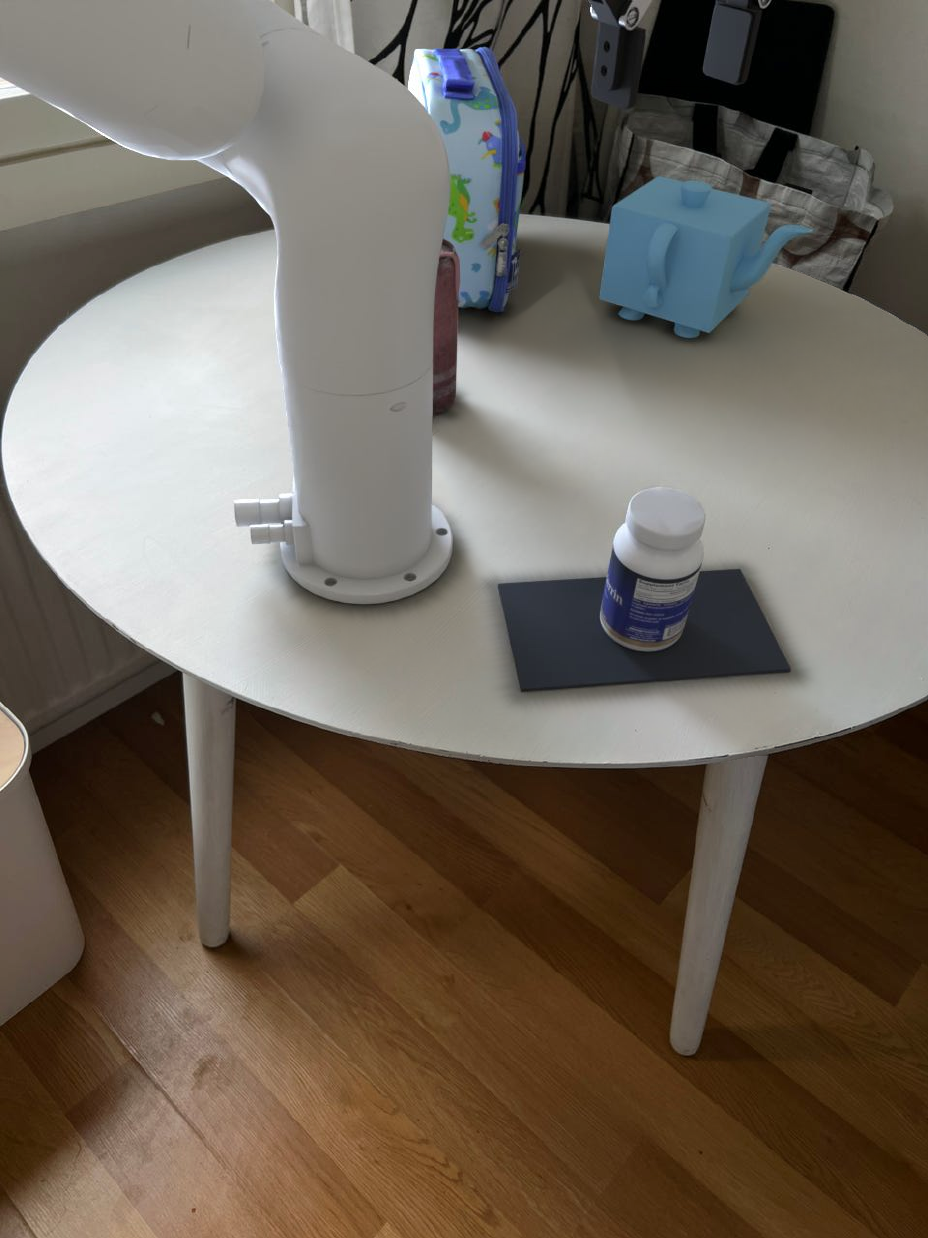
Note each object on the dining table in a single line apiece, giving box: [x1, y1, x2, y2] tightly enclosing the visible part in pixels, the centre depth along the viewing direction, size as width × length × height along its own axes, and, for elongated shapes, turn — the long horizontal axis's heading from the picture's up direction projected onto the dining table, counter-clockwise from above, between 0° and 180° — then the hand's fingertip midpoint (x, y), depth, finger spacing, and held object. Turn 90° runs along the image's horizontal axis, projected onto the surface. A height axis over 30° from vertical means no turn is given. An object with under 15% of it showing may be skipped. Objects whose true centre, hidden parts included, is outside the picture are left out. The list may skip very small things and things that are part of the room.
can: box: [433, 239, 460, 418], centre depth 78 cm, size 6×6×14 cm
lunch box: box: [407, 46, 527, 313], centre depth 94 cm, size 26×11×21 cm, turn 6°
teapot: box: [598, 175, 814, 339], centre depth 91 cm, size 18×16×13 cm
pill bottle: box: [600, 486, 706, 652], centre depth 59 cm, size 6×6×10 cm
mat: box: [497, 568, 792, 693], centre depth 63 cm, size 18×10×1 cm, turn 97°
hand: (670, 90), depth 56 cm, fingers open, 9 cm apart
